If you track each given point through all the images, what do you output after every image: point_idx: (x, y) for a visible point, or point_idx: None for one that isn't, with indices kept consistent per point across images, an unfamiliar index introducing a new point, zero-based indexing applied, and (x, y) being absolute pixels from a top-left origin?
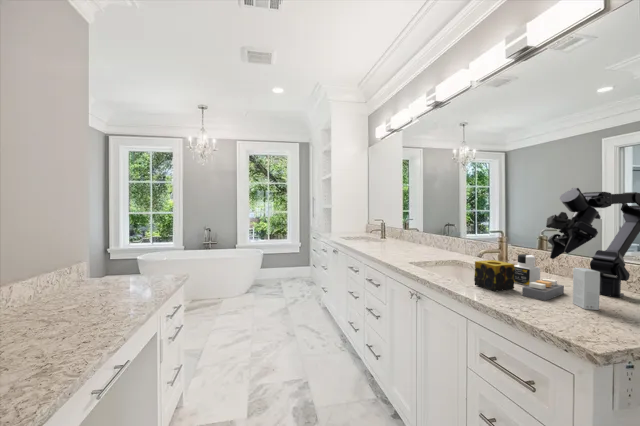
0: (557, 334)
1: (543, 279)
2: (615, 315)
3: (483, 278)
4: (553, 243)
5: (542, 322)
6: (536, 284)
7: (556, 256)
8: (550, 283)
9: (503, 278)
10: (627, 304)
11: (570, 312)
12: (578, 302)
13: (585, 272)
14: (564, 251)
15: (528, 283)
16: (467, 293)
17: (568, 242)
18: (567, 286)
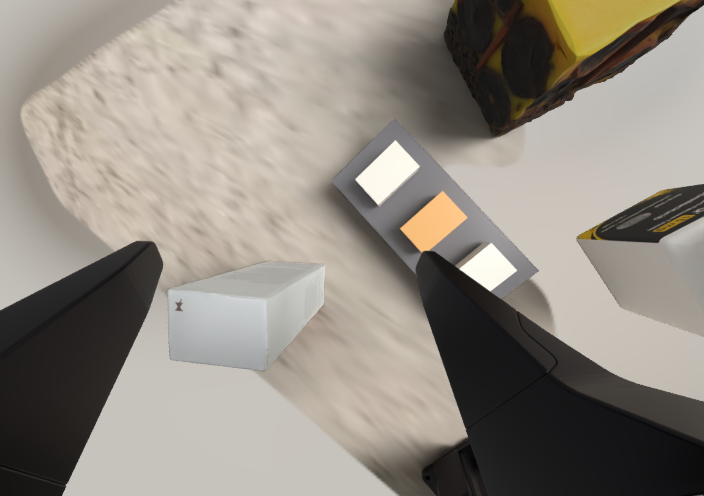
0: (77, 78)
1: (488, 250)
2: None
3: None
4: (598, 396)
5: (139, 78)
6: (373, 162)
7: (424, 302)
8: (415, 245)
9: (486, 41)
10: (348, 434)
11: (233, 201)
12: (289, 263)
13: (172, 289)
14: (148, 241)
15: (586, 235)
16: None
17: (6, 320)
18: None
